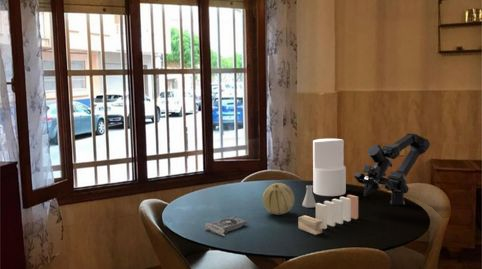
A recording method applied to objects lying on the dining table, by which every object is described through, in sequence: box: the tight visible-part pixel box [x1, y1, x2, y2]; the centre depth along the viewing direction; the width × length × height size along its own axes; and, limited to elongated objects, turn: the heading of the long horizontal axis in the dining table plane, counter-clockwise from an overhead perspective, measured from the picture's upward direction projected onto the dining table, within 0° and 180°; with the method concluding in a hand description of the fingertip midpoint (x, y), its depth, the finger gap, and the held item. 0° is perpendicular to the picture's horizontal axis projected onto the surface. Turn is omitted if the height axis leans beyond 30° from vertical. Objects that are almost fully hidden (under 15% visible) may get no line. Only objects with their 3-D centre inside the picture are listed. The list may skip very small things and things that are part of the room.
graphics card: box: [204, 216, 248, 237], centre depth 207 cm, size 17×4×12 cm
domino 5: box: [346, 194, 359, 220], centre depth 216 cm, size 2×5×10 cm, turn 37°
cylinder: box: [312, 138, 347, 197], centre depth 259 cm, size 17×17×28 cm
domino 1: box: [315, 202, 328, 230], centre depth 204 cm, size 2×5×10 cm, turn 36°
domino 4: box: [339, 196, 352, 222], centre depth 213 cm, size 2×5×10 cm, turn 36°
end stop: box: [297, 215, 323, 236], centre depth 201 cm, size 4×10×5 cm, turn 36°
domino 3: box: [331, 198, 344, 225], centre depth 210 cm, size 2×5×10 cm, turn 36°
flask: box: [301, 185, 316, 209], centre depth 236 cm, size 7×7×10 cm
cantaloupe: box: [262, 182, 295, 216], centre depth 224 cm, size 15×15×15 cm
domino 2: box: [323, 200, 336, 227], centre depth 207 cm, size 2×5×10 cm, turn 37°
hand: (364, 195), depth 220 cm, fingers closed
